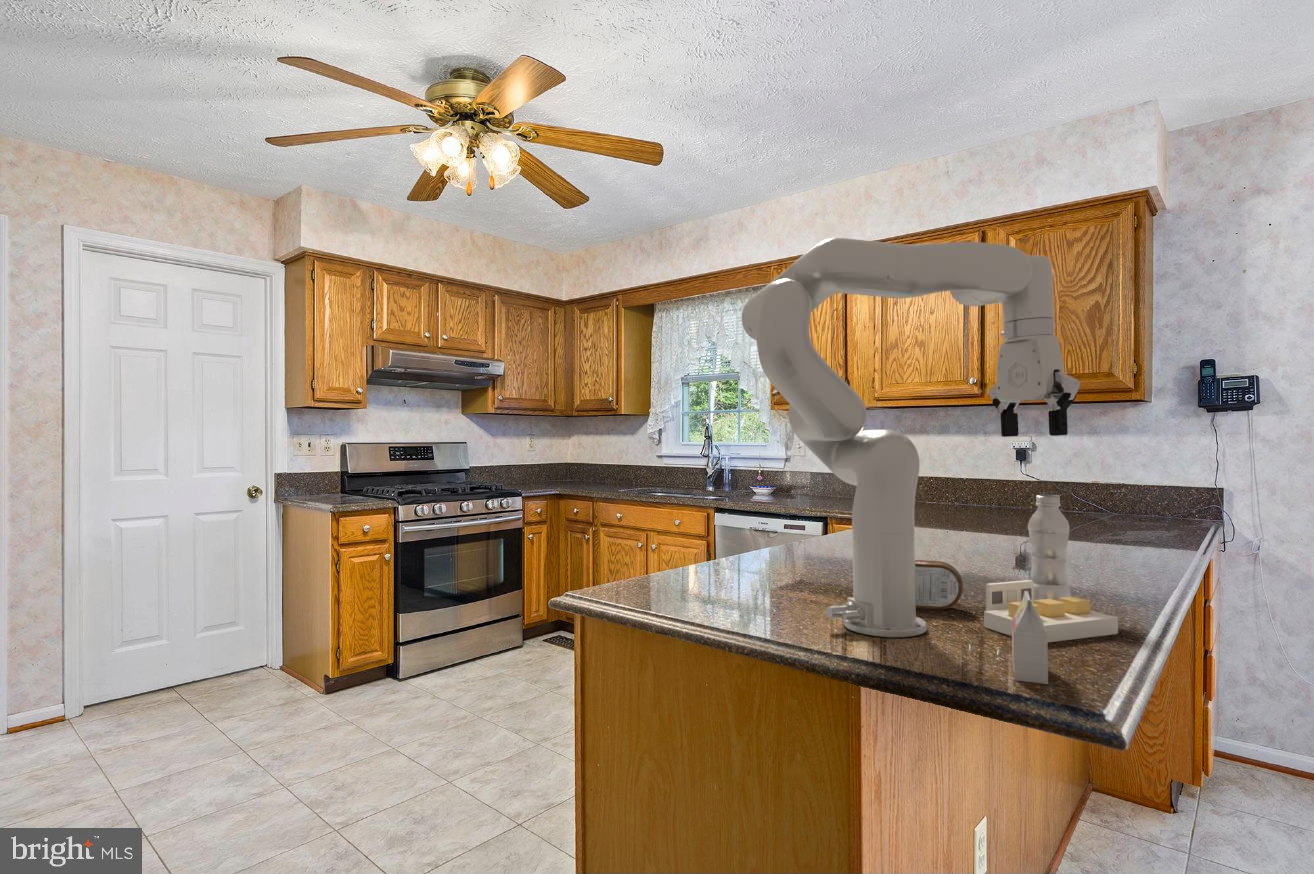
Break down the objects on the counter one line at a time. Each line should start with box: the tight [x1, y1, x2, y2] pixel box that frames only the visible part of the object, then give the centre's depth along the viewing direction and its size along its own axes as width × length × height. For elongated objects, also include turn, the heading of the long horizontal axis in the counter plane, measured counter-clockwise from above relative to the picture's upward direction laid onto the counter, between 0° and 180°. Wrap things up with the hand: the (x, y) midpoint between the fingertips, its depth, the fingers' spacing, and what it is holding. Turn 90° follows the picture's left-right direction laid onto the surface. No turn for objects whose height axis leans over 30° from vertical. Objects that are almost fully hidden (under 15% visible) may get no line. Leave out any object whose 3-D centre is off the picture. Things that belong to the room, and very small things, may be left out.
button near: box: [1008, 602, 1040, 617], centre depth 109 cm, size 3×3×3 cm
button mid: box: [1034, 599, 1065, 618], centre depth 111 cm, size 3×3×3 cm
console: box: [983, 609, 1119, 643], centre depth 111 cm, size 16×10×2 cm, turn 107°
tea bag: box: [1011, 591, 1049, 685], centre depth 91 cm, size 4×7×10 cm, turn 155°
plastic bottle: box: [1027, 494, 1072, 604], centre depth 123 cm, size 6×7×20 cm
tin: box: [915, 559, 964, 611], centre depth 127 cm, size 15×3×8 cm, turn 71°
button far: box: [1059, 596, 1091, 615], centre depth 112 cm, size 3×3×3 cm
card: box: [985, 579, 1033, 611], centre depth 118 cm, size 9×1×6 cm, turn 107°
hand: (1033, 435), depth 118 cm, fingers open, 9 cm apart
